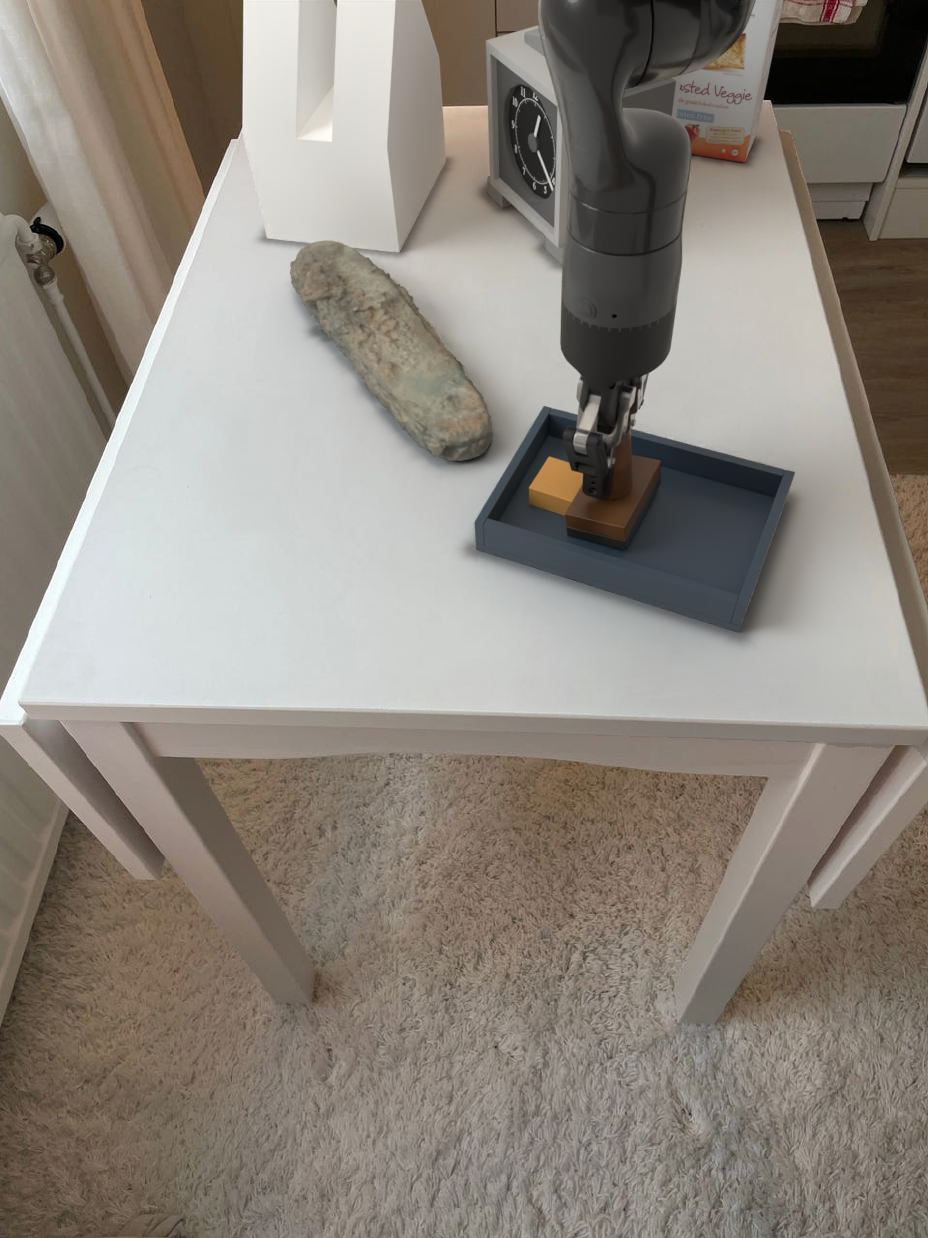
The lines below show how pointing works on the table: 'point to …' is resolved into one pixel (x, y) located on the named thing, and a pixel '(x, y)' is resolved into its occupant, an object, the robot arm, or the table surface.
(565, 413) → the tray
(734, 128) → the cracker box
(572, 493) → the orange squat block
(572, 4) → the robot arm
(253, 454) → the table surface
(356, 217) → the white slotted tapered block
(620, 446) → the rubber stamp
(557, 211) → the alarm clock
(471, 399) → the elongated rock
